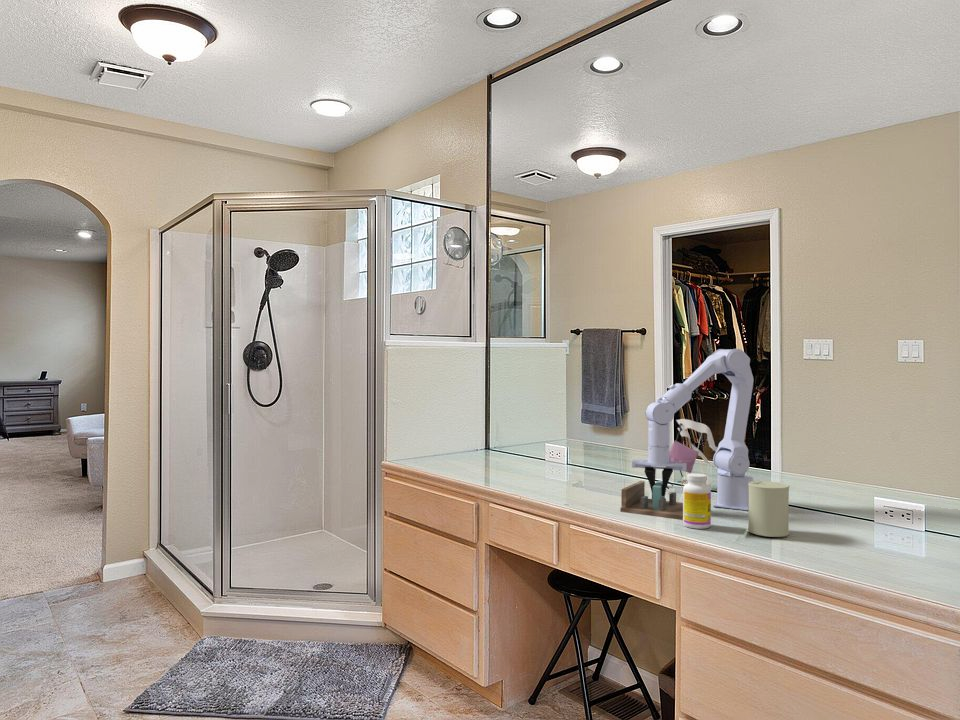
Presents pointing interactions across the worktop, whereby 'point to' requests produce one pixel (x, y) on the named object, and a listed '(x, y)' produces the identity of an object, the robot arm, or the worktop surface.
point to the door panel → (657, 494)
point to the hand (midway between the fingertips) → (658, 495)
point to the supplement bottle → (697, 502)
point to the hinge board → (649, 503)
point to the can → (768, 508)
